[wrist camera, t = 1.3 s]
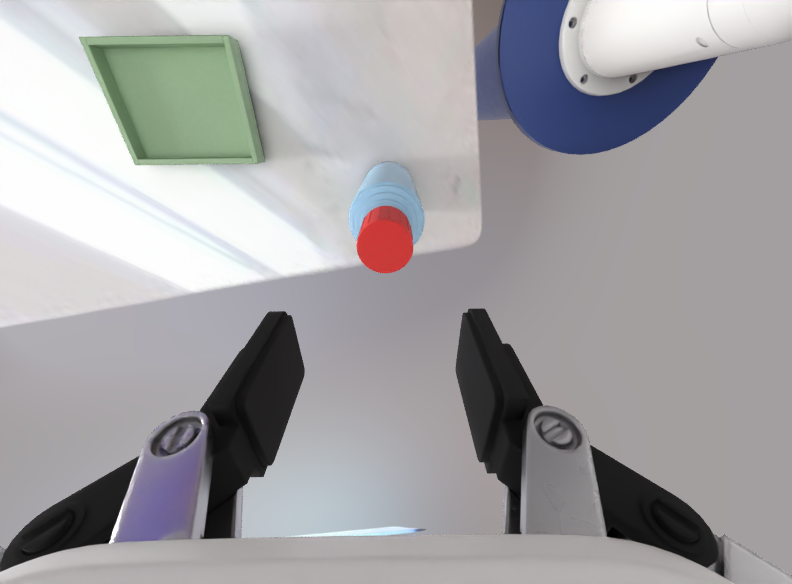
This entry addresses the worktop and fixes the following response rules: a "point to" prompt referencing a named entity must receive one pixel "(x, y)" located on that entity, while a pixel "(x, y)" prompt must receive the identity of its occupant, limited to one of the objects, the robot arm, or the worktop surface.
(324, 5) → the worktop surface
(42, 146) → the worktop surface
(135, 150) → the tray
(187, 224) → the worktop surface
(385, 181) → the water bottle
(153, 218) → the worktop surface
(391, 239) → the cap
